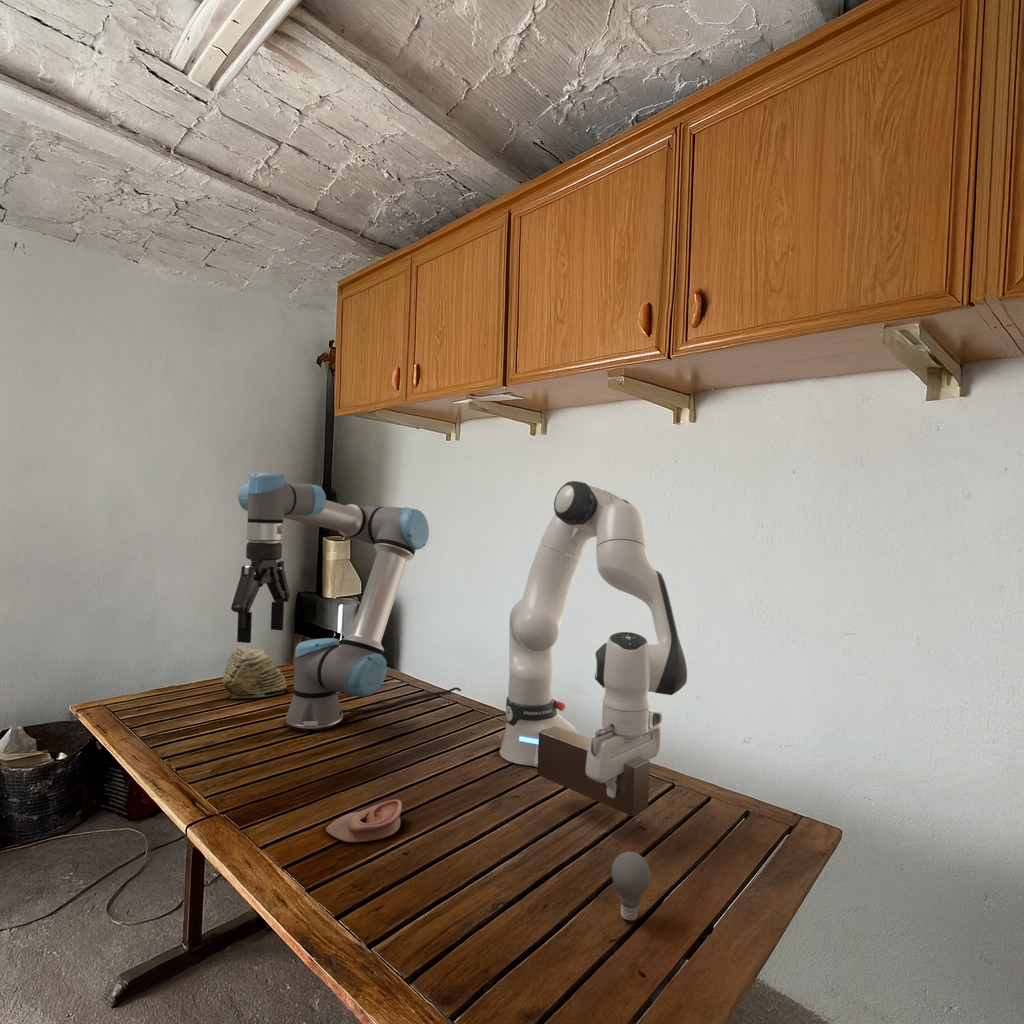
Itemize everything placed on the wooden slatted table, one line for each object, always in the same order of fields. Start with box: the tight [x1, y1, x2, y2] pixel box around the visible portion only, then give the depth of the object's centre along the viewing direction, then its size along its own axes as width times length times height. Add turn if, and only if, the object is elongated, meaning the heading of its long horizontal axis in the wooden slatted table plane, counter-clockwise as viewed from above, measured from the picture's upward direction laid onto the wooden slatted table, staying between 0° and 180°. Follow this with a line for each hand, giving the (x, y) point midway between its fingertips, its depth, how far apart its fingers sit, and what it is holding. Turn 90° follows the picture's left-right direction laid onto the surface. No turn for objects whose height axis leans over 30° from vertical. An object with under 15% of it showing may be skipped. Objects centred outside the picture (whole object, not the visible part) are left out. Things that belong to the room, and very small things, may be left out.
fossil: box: [222, 646, 288, 699], centre depth 198 cm, size 9×18×15 cm, turn 132°
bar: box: [536, 726, 651, 817], centre depth 127 cm, size 24×5×9 cm, turn 46°
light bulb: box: [611, 851, 652, 921], centre depth 99 cm, size 6×6×10 cm
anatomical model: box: [325, 799, 403, 843], centre depth 122 cm, size 13×4×12 cm
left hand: (261, 635), depth 143 cm, fingers open, 13 cm apart
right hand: (622, 790), depth 122 cm, fingers closed on bar, 5 cm apart
